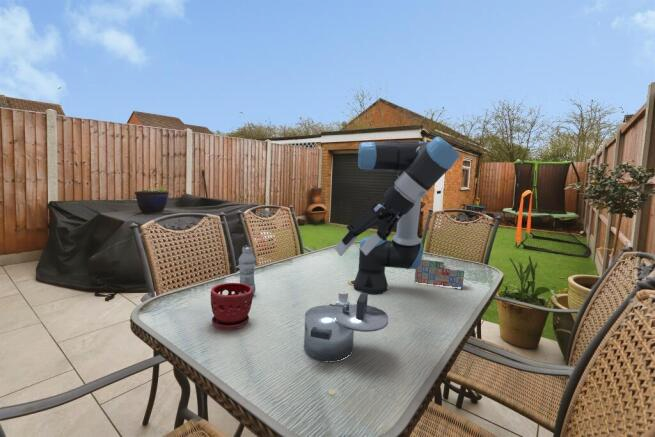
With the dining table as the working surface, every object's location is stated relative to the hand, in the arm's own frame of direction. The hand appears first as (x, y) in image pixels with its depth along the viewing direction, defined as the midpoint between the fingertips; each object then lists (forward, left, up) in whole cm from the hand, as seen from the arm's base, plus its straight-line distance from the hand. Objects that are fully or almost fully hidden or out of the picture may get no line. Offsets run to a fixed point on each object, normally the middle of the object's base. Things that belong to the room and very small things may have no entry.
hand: (351, 251), depth 88 cm
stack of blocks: (-71, -30, -29) cm, 83 cm away
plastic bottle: (+14, -52, -29) cm, 61 cm away
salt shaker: (-10, -18, -29) cm, 36 cm away
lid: (-2, +3, -18) cm, 19 cm away
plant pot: (+25, -30, -29) cm, 49 cm away
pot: (+4, -3, -29) cm, 29 cm away
